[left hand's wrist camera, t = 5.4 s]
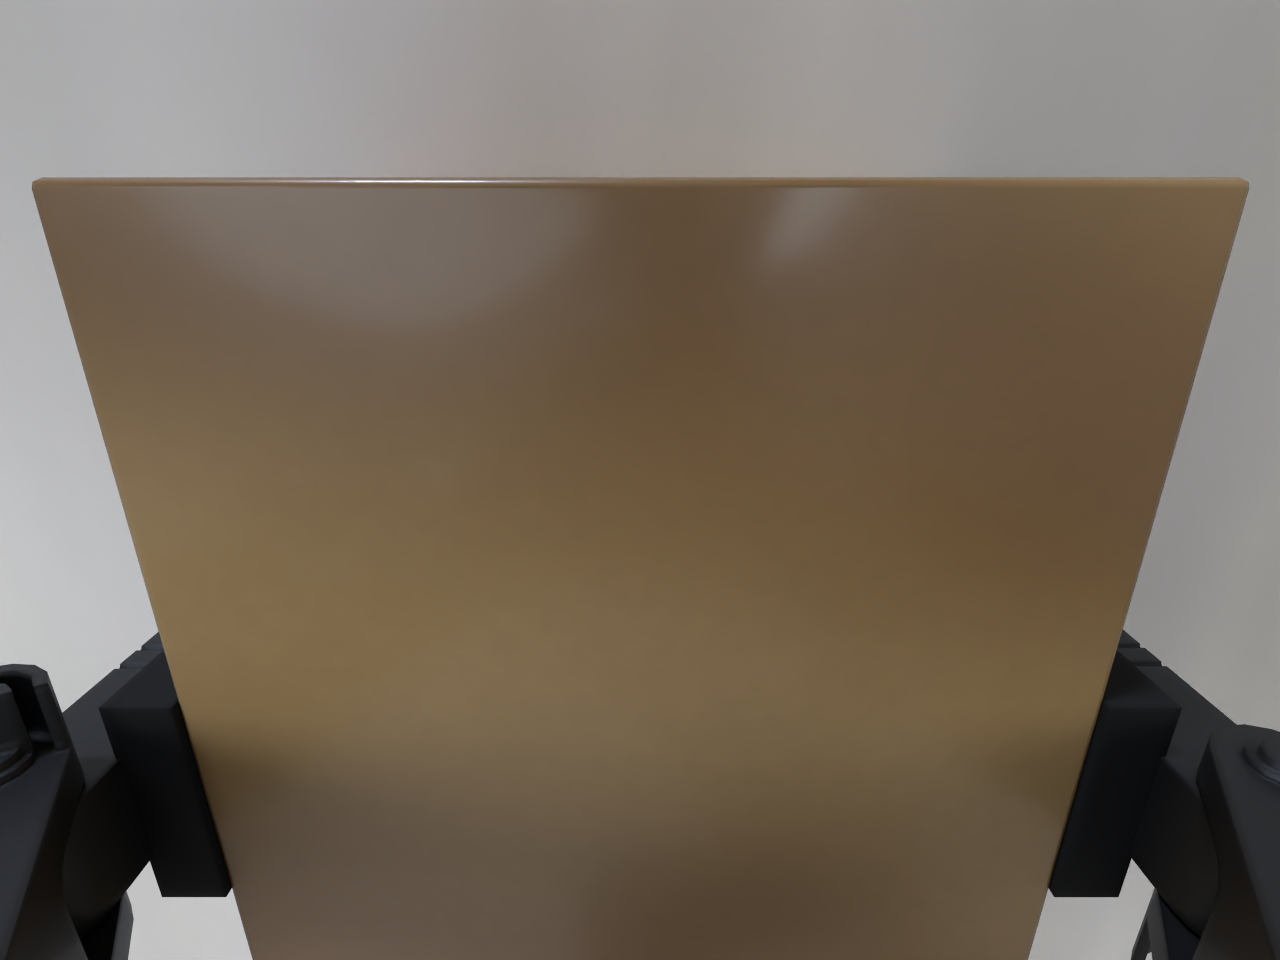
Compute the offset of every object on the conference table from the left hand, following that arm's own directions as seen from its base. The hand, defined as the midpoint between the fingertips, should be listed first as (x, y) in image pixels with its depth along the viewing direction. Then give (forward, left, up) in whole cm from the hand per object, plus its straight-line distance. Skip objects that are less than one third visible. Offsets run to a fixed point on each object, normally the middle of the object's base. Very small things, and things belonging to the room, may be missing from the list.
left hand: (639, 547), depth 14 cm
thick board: (+13, -14, -1) cm, 19 cm away
